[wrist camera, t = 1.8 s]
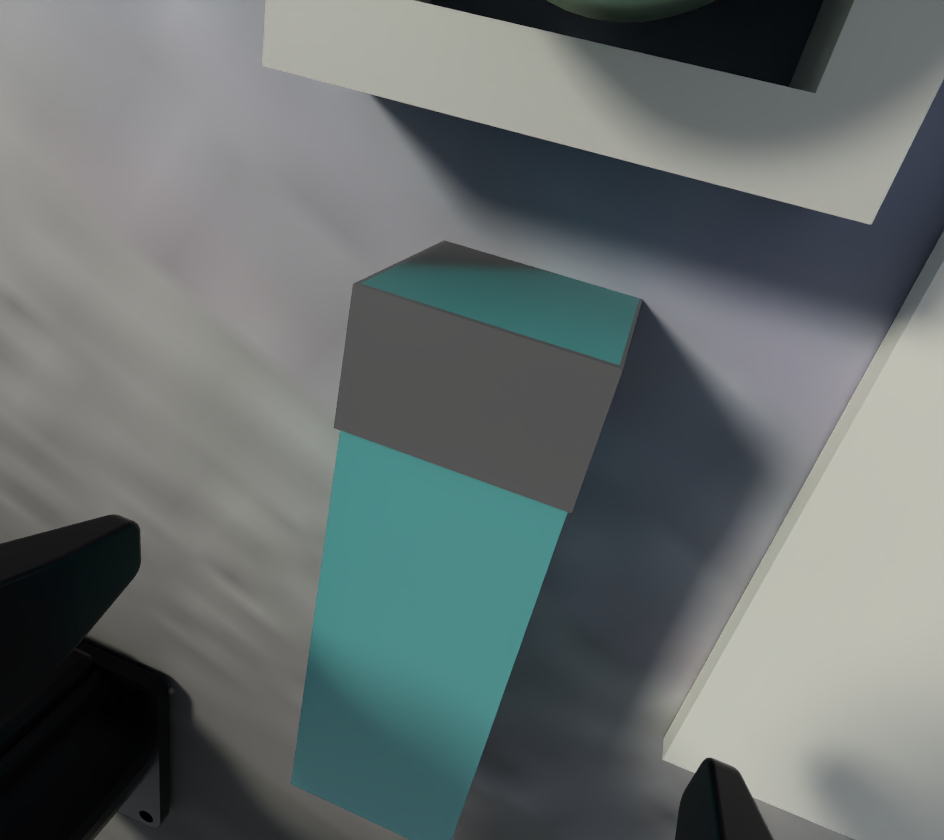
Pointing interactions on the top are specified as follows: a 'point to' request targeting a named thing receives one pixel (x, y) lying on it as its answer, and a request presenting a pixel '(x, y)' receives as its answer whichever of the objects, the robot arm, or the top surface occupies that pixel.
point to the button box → (648, 91)
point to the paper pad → (847, 614)
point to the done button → (629, 8)
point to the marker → (445, 517)
